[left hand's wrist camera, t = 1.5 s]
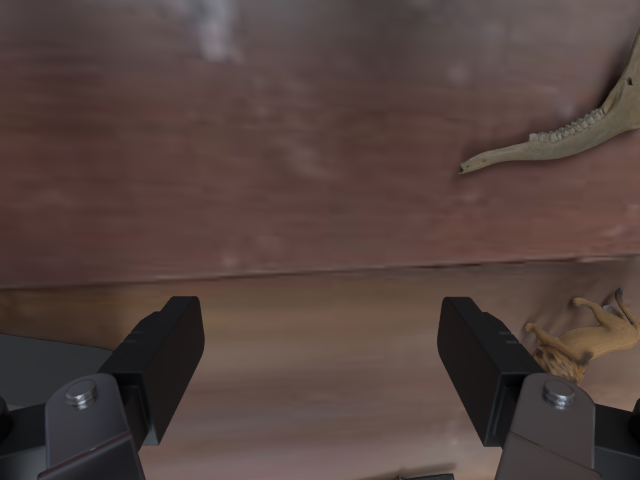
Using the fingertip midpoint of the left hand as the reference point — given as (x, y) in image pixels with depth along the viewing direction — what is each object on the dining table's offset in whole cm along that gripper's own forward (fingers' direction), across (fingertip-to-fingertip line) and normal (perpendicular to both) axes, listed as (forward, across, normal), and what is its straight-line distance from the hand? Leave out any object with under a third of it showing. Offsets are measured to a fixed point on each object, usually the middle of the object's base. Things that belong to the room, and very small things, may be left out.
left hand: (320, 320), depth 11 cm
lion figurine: (+27, -29, +18) cm, 44 cm away
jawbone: (+27, -22, -7) cm, 36 cm away
